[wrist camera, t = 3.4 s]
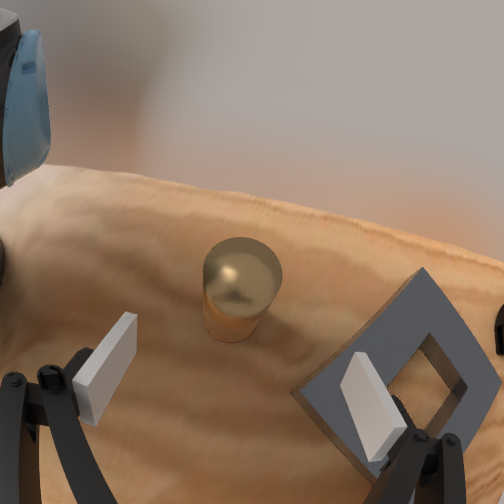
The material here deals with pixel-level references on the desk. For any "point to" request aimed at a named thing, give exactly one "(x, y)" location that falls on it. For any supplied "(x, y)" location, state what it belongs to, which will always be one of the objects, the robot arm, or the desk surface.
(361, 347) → the frame
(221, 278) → the metal cylinder
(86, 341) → the desk surface
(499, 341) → the end cap
